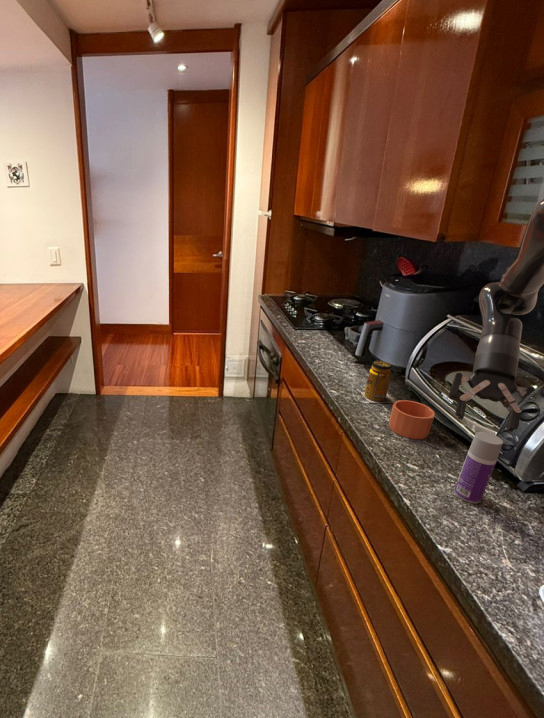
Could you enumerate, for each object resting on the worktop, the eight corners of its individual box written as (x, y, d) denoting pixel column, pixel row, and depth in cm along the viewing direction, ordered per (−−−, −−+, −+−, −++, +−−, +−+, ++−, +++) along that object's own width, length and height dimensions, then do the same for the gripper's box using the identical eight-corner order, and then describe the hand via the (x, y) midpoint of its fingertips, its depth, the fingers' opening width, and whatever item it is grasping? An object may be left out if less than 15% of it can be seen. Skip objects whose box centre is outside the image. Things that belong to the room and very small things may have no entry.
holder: (423, 423, 110) (429, 403, 108) (433, 442, 102) (439, 421, 99) (385, 417, 113) (390, 398, 111) (392, 435, 105) (397, 414, 102)
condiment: (359, 392, 128) (366, 358, 123) (386, 393, 127) (394, 359, 122) (368, 403, 121) (376, 368, 116) (396, 404, 120) (405, 369, 116)
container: (484, 505, 81) (508, 446, 75) (458, 500, 83) (479, 442, 77) (475, 490, 85) (498, 433, 80) (450, 486, 87) (471, 429, 81)
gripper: (462, 345, 89) (448, 409, 85) (544, 358, 82) (535, 430, 77) (454, 358, 95) (442, 419, 91) (531, 372, 88) (521, 439, 83)
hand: (484, 424), depth 84 cm, fingers open, 8 cm apart
